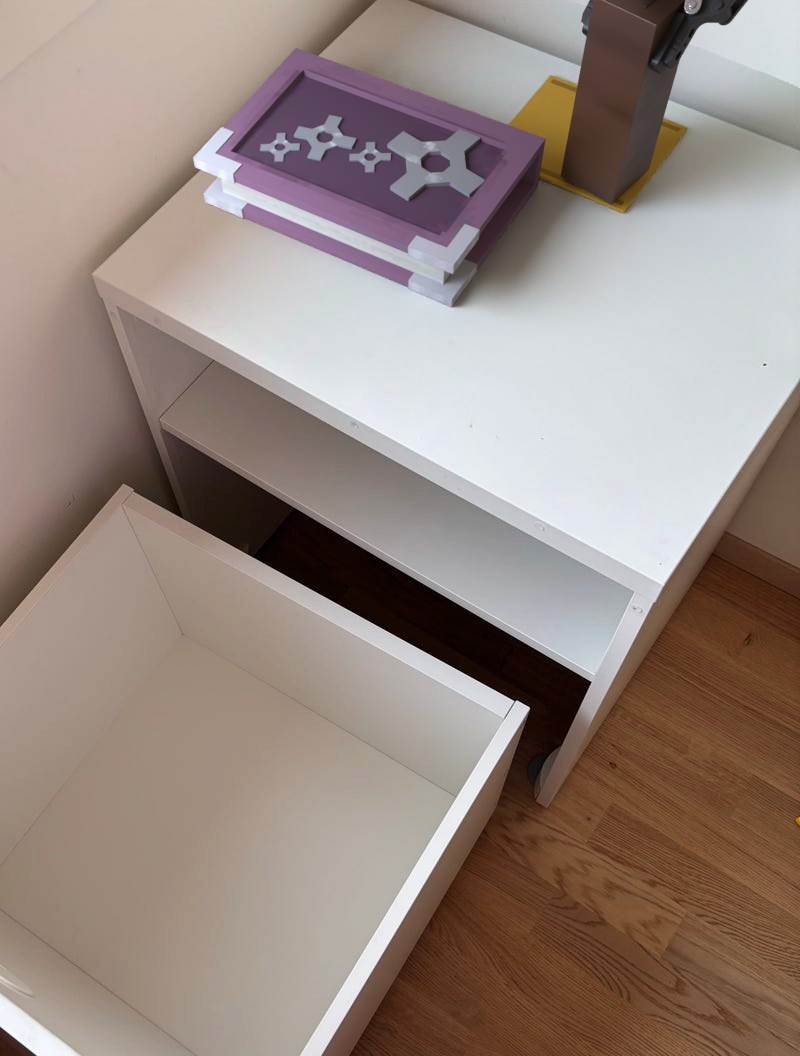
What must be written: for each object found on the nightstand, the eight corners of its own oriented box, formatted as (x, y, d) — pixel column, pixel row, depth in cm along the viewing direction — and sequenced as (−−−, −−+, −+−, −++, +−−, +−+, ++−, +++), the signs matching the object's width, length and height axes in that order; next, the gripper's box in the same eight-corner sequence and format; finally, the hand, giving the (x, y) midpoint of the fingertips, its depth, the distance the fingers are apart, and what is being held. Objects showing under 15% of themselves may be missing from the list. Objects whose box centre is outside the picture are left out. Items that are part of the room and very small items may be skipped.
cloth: (686, 130, 90) (687, 126, 90) (623, 213, 86) (624, 210, 86) (550, 77, 94) (550, 74, 94) (484, 155, 90) (484, 152, 90)
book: (202, 204, 90) (193, 157, 85) (298, 96, 95) (294, 46, 90) (449, 310, 83) (453, 265, 79) (538, 187, 88) (547, 137, 84)
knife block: (597, 141, 89) (638, -45, 74) (649, 169, 87) (701, -16, 73) (560, 176, 88) (594, -7, 73) (611, 205, 86) (656, 23, 71)
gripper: (661, -267, 67) (528, 0, 75) (853, -198, 63) (691, 79, 70) (685, -211, 74) (561, 31, 81) (862, -143, 69) (712, 106, 77)
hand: (622, 52), depth 76 cm, fingers closed on knife block, 5 cm apart
